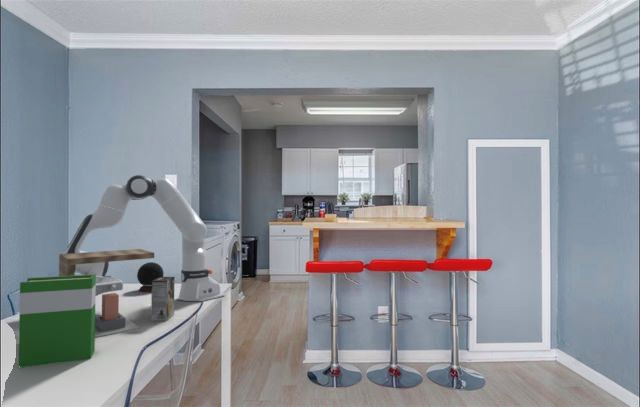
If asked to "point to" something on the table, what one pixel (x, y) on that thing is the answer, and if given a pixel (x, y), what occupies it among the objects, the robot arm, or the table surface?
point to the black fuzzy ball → (149, 275)
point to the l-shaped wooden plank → (98, 258)
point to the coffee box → (162, 299)
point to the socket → (113, 326)
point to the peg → (110, 306)
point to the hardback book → (56, 319)
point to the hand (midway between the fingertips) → (100, 291)
